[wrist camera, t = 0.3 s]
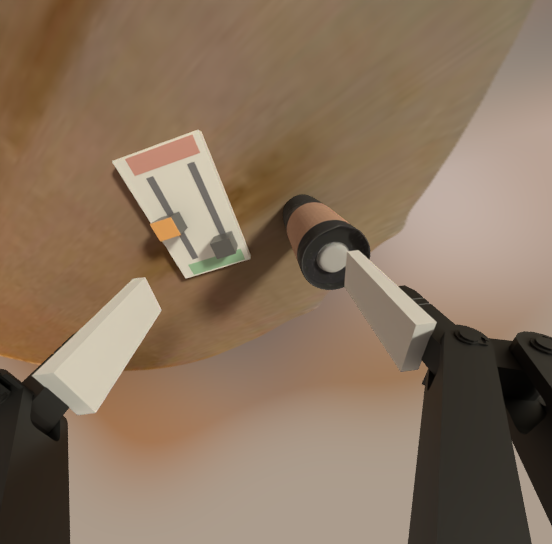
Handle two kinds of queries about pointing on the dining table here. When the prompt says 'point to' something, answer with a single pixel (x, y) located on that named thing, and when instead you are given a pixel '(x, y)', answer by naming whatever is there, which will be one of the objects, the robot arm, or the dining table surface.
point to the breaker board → (187, 202)
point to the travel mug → (321, 241)
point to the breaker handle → (169, 226)
